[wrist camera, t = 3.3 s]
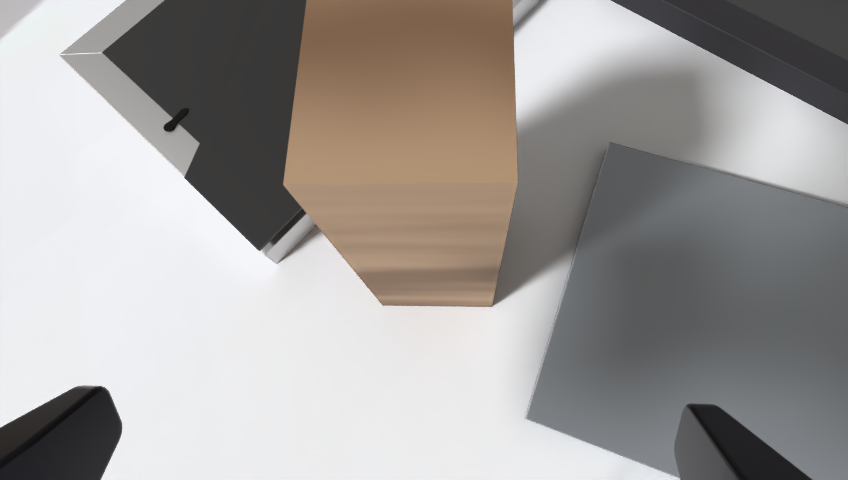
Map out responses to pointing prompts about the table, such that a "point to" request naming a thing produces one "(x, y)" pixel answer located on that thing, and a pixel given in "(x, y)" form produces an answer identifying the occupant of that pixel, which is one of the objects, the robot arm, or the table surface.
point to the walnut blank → (408, 143)
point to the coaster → (701, 316)
